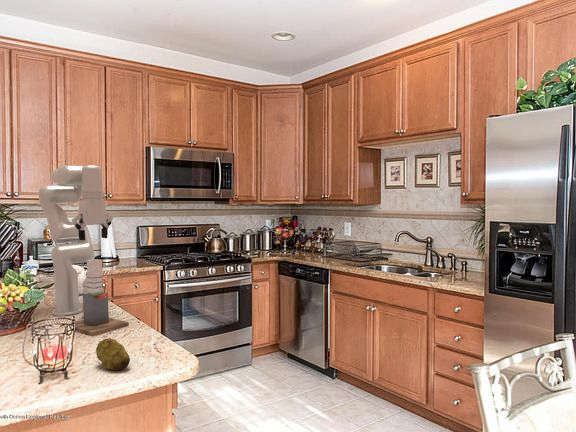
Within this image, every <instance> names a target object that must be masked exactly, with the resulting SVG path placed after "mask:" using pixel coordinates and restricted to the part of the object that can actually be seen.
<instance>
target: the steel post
mask: <svg viewBox="0 0 576 432" xmlns="http://www.w3.org/2000/svg"><path fill="white" fill-rule="evenodd" d="M86 266H87V267H86V268H87V269H86V270H87V278H88V282H87V283H88V287H87V288H88V295H92V296H95V295H100V294H103V293H104V292H103V291H104V288H103V287H104V285H103V283H104V281H103V260H102V259H98V258H96V259H92V260H87V262H86Z"/></svg>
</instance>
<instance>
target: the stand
mask: <svg viewBox="0 0 576 432" xmlns="http://www.w3.org/2000/svg"><path fill="white" fill-rule="evenodd" d="M82 308H83V311H82V313H83V317H82V319H79V320H75V321H74V322H75V331H74V332H76V331H77V332H76V333H79V332H80V333H79V334H82V335H85V336H86V335H87V336H90V337H94V336H95V337H96V336H99V335H102V334H105V333H108V332H112V331H116V330H120V329H122V328H126V327H129V325H130V324H129V321H124V320H121V319H116V318H113V317H110V316H109V315H110V314H109V293H107V292H103V294H100V295H95V296H92V295H88V294H82Z"/></svg>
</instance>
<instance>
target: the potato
mask: <svg viewBox="0 0 576 432" xmlns="http://www.w3.org/2000/svg"><path fill="white" fill-rule="evenodd" d="M95 353H96V357H97V360H98V361H100V362H101V364H102V365H103V367H104V368H106V370H111V371H121V370H122V371H123V370H124V369H126V368H127V367H128V366H129V365H130V362H131V358H130V355H129V353H128V351H127V350H126V349H125V345H123V344H122V343H120V342H119V341H118V340H116V339H114V338H110V337H109V338H104V339H103V340H101V341H99V342H98V344H97V346H96V351H95Z"/></svg>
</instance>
